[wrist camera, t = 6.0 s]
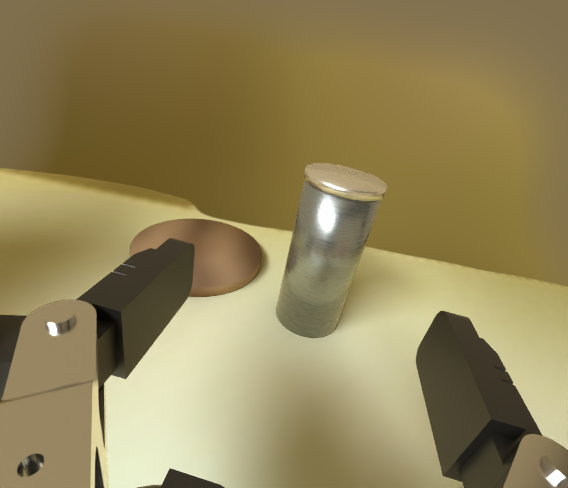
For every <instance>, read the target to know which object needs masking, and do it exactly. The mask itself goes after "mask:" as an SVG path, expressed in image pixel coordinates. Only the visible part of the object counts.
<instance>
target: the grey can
mask: <svg viewBox="0 0 568 488" xmlns="http://www.w3.org/2000/svg"><path fill="white" fill-rule="evenodd" d="M304 179H305V181H304V185H303V190H302V194H301V199H300V203H299V208H298V212H297V217H296V221H295V226H294V230H293V235H292V239H291V244H290V248H289V253H288V257H287V262H286V266H285V271H284V276H283V280H282V285H281V289H280V294H279V298H278V303H277V307H276V314H277V317H278V319H279V321H280V322H281V323H282V324H283V326H285V327H286V328H287V329H288V330H290V331H292V332H293V333H295V334H298V335H301V336H304V337H310V338H319V337H324V336H327V335H329V334H331V333H332V332H333V331H334V330H335V328H336V326H337V323H338V320H339V318H340V315H341V312H342V309H343V306H344V303H345V301H346V298H347V295H348V292H349V289H350V286H351V284H352V281H353V278H354V275H355V272H356V269H357V267H358V264H359V261H360V258H361V255H362V252H363V250H364V247H365V244H366V241H367V238H368V235H369V233H370V230H371V227H372V224H373V221H374V218H375V216H376V213H377V210H378V207H379V204H380V201H381V199H382V198H383V197H384V195H385V192H386V189H387V185H386V183H385V182H383V181H382V180H381V179H379V178H377V177H375V176H373V175H371V174H369V173H366V172H363V171H361V170H357V169H353V168H350V167H346V166H341V165H336V164H327V163H314V164H309V165H307V166H306V169H305V173H304Z"/></svg>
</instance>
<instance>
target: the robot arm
mask: <svg viewBox="0 0 568 488" xmlns="http://www.w3.org/2000/svg"><path fill="white" fill-rule="evenodd" d="M194 254H195V247H194V244H192V243H188V242H185V241H181V240H177V239H174V238H169V239H167V240H166V241H165V242H164V243H163V244H162V245H160V246H159V247H158V248H157V249H153V248H149V249H146V250H144V251H141V252H138V253H136V254H134V255H133V256H131V257H130V258H129V259H128V260H126V261H125V262H124V263H123V265H120V266H119V267H117V268H116V269H115V270H114V272H111V273H110V274H108V275H107V276H106V277H105V278H103V279H102V280H101V281H99V282H98V283H97V284H96V285H94V286H93V287H92V288H90V289H89V290H88V291H87V292H85V293H84V294H83V295H82V296H80V297H79V298H78V299H76V300H61V301H56V302H52V303H49V304H46V305H44V306H41V307H39V308H38V309H36V310H34V311H33V312H32V313H30V314H29V315H28V316H16V315H0V488H109V485H108V470H107V445H106V389H105V381H106V380H107V379H108V378H109V377H110V375H114V376H117V377H121V378H124V379H126V378H127V377H128V376H129V374H130V373H131V372H132V370H133V369H134V368H135V366H136V365H137V364H138V363H139V361H140V360H141V359H142V357H143V356H144V355H145V353H146V352H147V351H148V349H149V348H150V347H151V346H152V344H153V343H154V342H155V340H156V339H157V338H158V336H159V335H160V334H161V332H162V331H163V330H164V328H165V327H166V326H167V325H168V323H169V322H170V321H171V319H172V318H173V317H174V315H175V314H176V313H177V311H178V310H179V309H180V307H181V306H182V305H183V304H184V302H185V301H186V299H187V298H188V296H189V294H190V291H191V288H192V283H193V269H194ZM416 365H417V369H418V374H419V378H420V382H421V386H422V390H423V394H424V399H425V403H426V407H427V411H428V415H429V419H430V424H431V428H432V432H433V436H434V440H435V444H436V449H437V453H438V457H439V461H440V465H441V469H442V474H443V476H445V477H448V478H452V479H455V480H458V481H461V482H463V486H464V488H568V450H567V449H566V448H564V447H563V446H561V445H560V444H558V443H557V442H555V441H553V440H551V439H549V438H547V437H544V436H542V434H541V432H540V430H539V428H538V427H537V425H536V423H535V421H534V419H533V418H532V416H531V414H530V412H529V410H528V409H527V407H526V405H525V403H524V401H523V399H522V398H521V396H520V394H519V392H518V390H517V389H516V387H515V386H514V385H513V381H512V379H511V378H510V376H509V374H508V372H505V370H506V369H505V367H504V365H503V363H502V361H501V360H500V358H499V356H498V354H497V353H496V352H495V351H494V350H493V349H492V348H491V347H490V346H489V344H488V343H487V342H486V341H485V340H484V339H482V338H479V336H478V334H477V332H476V330H475V328H474V326H473V324H472V322H471V321H470V319H469V318H467V317H464V316H460V315H456V314H453V313H449V312H445V311H440V312H439V313H438V314H437V315H436V317H435V318H434V320H433V322H432V324H431V326H430V327H429V329H428V331H427V333H426V334H425V336H424V338H423V340H422V342H421V343H420V345H419V348H418V351H417V356H416ZM138 488H224V487H223V486H221V485H219V484H216V483H213V482H210V481H207V480H204V479H201V478H198V477H195V476H192V475H189V474H186V473H183V472H180V471H176V470H173V469H169V471H168V473H167V475H166V477H165V480H164V482H163V484H162V485H150V486H143V487H138Z"/></svg>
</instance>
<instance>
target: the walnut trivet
mask: <svg viewBox="0 0 568 488" xmlns="http://www.w3.org/2000/svg"><path fill="white" fill-rule="evenodd" d="M169 238H174V239H177V240H181V241H185V242H188V243H192V244H194V247H195V254H194V269H193V283H192V288H191V291H190V294H189V296H191V297H206V296H216V295H221V294H225V293H229V292H232V291H235V290H237V289H240V288H241V287H243V286H245V285H247V284H248V283H249V282H251V281H252V280H253V279H254V278H255V276H256V275H257V273H258V271H259V267H260V262H261V255H262V254H261V249H260V246H259V244H258V243H257V241H256V240H255V239H254V238H253V237H252V236H250V235H249V234H248V233H246V232H244V231H243V230H241V229H239V228H237V227H234V226H232V225H229V224H225V223H222V222H217V221H212V220H204V219H178V220H171V221H166V222H162V223H158V224H155V225H152V226H150V227H148V228H146V229H144V230H143V231H141V232H140V233H139V234H137V236H136V237H135V238H134V239H133V241H132V243H131V246H130V257H131V256H133V255H134V254H136V253H138V252H141V251H144V250H146V249H149V248H153V249H157V248H158V247H159V246H160V245H162V244H163V243H164V242H165V241H166V240H167V239H169Z"/></svg>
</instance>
